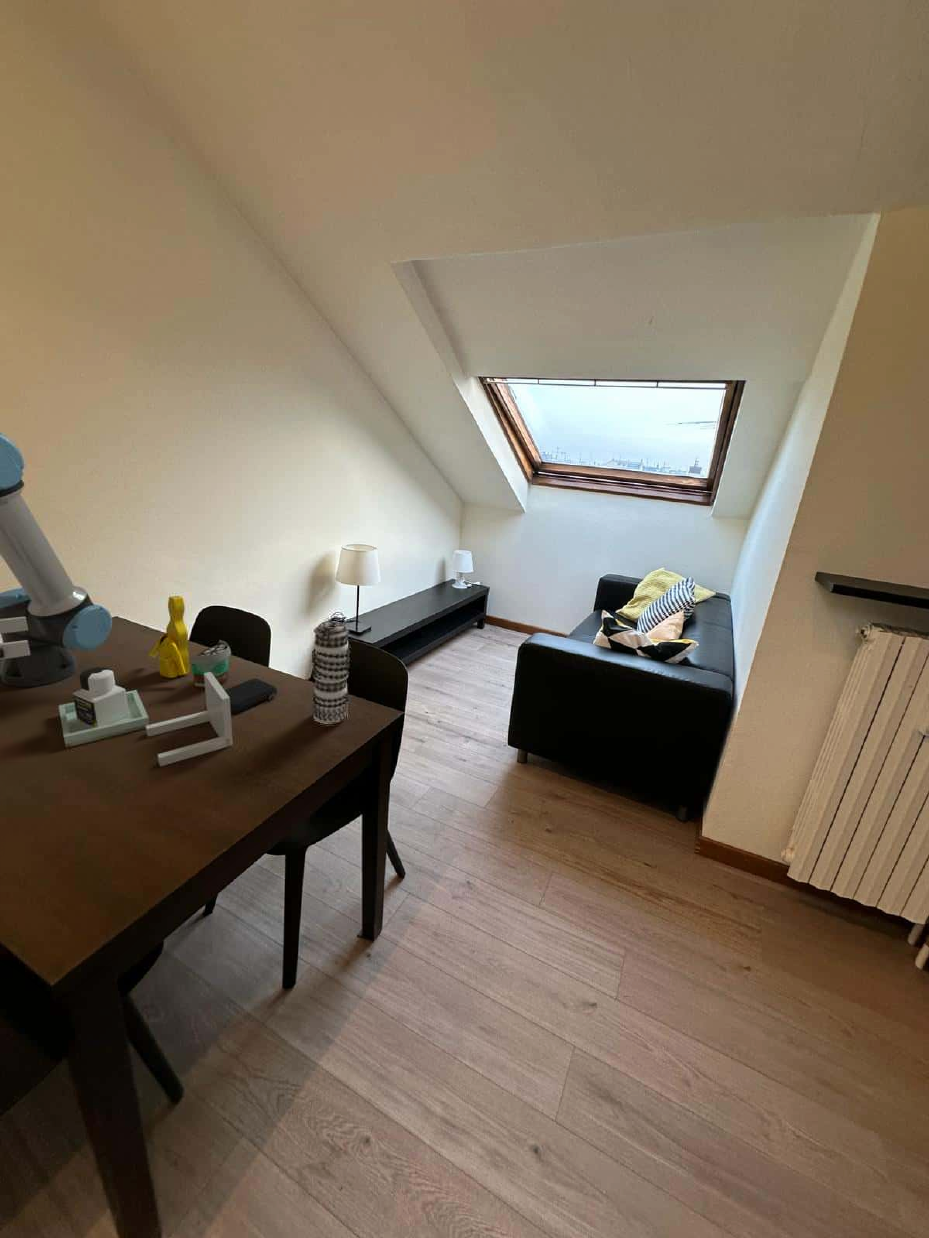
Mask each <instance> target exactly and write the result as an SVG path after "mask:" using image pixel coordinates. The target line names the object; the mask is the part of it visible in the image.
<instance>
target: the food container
mask: <svg viewBox="0 0 929 1238" xmlns="http://www.w3.org/2000/svg"><path fill="white" fill-rule="evenodd" d="M231 654H232V650H231V648H230V646H229V644H228V643H227V642H225V641H224V640H221V639H219V640H218V644H216V645H214V646H211V647H208V648H205V649H204V650H202V651H201V652H200V653H198V654H197V655H192V654H191V655H189V663H190V666H191V670H192V675H193V680H194V686H195V689H201V690H205V681H204V673H208V672H211V673H212V674H213V676H214V677H215V678H216V680H217V681H218V682H219V684H220V685H221V686H223V685H225V684H226V683H228V679H229V678H228V676H229V657H230V656H231Z"/></svg>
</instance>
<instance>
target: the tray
mask: <svg viewBox="0 0 929 1238" xmlns="http://www.w3.org/2000/svg"><path fill="white" fill-rule="evenodd" d="M126 697H127V704H128V711H129V716H127V717H125V718H122V719H120V720H118V721H116V722H113V723H111V724H109V725H105V726H100V727H96V728H94V727H92V726H89V725H87V724H85V723H83V722H81V721H78V720H77V715H76V710H75V704H74V702H69V703H65V704H64V703H63V704H59V705H58V710H59V715H60V722H61V728H62V734H63V738H64V740H63V741H64V744H65V748H70V747H73V746H78V745H82V744H86V743H90V742H94V741H98V740H99V741H100V740H102V739H107V738H110V737H114V736H118V735H123V734H126V733H130V732H131V733H132V732H135V731H139V730H143V729H146V726H147V725H150V719H149V718H150V717H149V715H148V713H147V710H146V708H145V707H144V704H143V702H142V700H141V697H140V695H139V693H138V690H137V689H134V690H130V691H126ZM69 746H70V747H69Z"/></svg>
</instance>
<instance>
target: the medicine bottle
mask: <svg viewBox="0 0 929 1238" xmlns="http://www.w3.org/2000/svg"><path fill="white" fill-rule="evenodd" d="M78 678H79V682H80V688H81V689H80V690H77V691H75V692H72V698H73V703H74V704H75V710H76V715H77V720H78V721H81V722H83V723H85V724H87V725H89V726H92V727H94V728H96V727H100V726H105V725H109V724H111V723H113V722H116V721H118V720H120V719H122V718H125V717H127V716H129V711H128V704H127V697H126V692H127V691H126V689H125V688H124V687H121V686H118V685H116V682H115V674H114V670H113V669H111V668H110V667H103V666H100V667H98V666H97V667H92V668H89V669H86V670H84V671H82V672H80V674H79V677H78Z"/></svg>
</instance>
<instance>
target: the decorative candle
mask: <svg viewBox="0 0 929 1238" xmlns="http://www.w3.org/2000/svg"><path fill="white" fill-rule="evenodd" d="M313 633H314V634H315V635H314V636H315V637H314V638H315V639H314V648H313V650H312V651H311V658H312V659H311V663H313V664H312V674H311V675H312V676H313V678H314V682H315V683H314V690H313V691H312V692H313V693H312V696H313V697H312V698H313V700H312V702H313V704H312V715H313V716H312V717H313V718H314V719H315V720H314V719H313V718H312V719H313V720H314V721H317V722H320V723H323V724H330V723H331V724H332V722H340V721H339V720H340V719H343V718H344V716H346V713H347V714H348V713H349V711H348V709H349V702H348V701H349V690H348V683H347V679H348V677H349V675H350V671H349V670H348V669H350V666H351V665H350V663H351V658H350V657H349V656H350V655H352V651H351V650H350V649H352V646H351V644H349V640H348V637H349V636H348V633H350V629H348V627H346V626H345V625H344V624H343V623H342V622H339V621H336V620H335V621H332V620H328V621H324V622H321V623H319V625H318V626H317V627H315V628H314V629H313ZM317 722H316V723H317Z"/></svg>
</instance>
